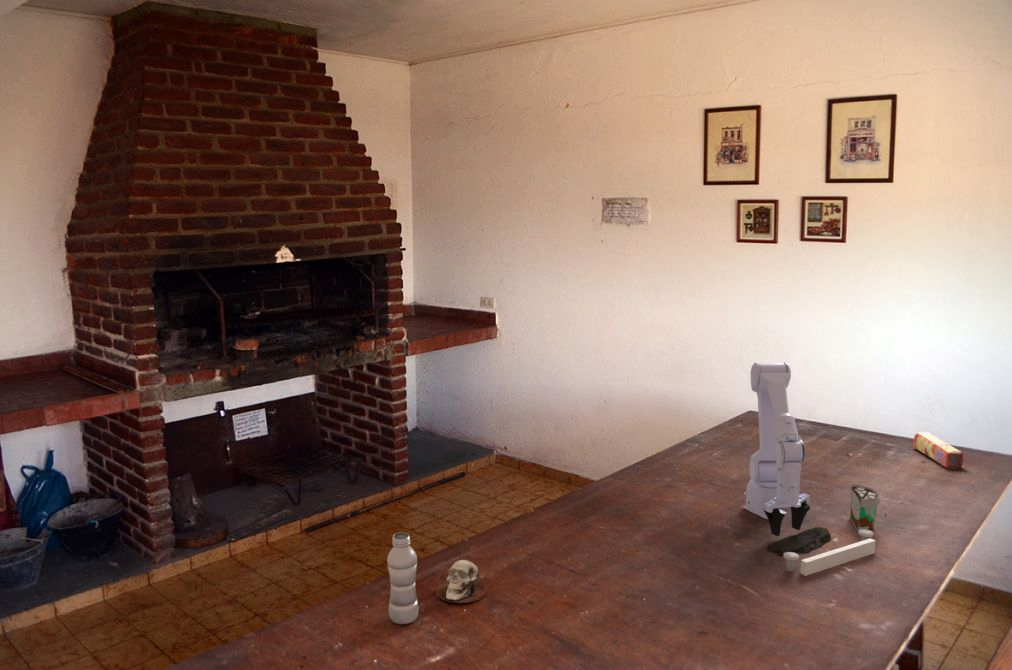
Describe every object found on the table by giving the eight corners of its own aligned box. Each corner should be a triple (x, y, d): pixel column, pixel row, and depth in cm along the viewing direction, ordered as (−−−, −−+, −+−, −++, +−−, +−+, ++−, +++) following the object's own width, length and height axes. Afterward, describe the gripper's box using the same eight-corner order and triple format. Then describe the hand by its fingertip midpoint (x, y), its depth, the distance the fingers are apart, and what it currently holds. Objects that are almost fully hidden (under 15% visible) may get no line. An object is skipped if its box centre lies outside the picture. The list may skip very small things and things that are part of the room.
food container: (883, 536, 213) (886, 501, 211) (858, 534, 214) (861, 500, 212) (871, 517, 224) (874, 484, 223) (848, 516, 226) (851, 483, 224)
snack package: (964, 469, 261) (966, 450, 260) (944, 470, 261) (946, 450, 260) (929, 448, 282) (931, 430, 281) (911, 449, 282) (913, 430, 281)
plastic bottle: (389, 613, 178) (386, 530, 174) (419, 611, 178) (416, 529, 174) (388, 629, 171) (384, 543, 167) (419, 627, 172) (416, 541, 168)
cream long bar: (779, 569, 195) (780, 554, 195) (863, 542, 209) (864, 528, 208) (797, 578, 191) (797, 563, 190) (881, 550, 204) (883, 536, 204)
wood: (786, 562, 200) (786, 551, 199) (763, 550, 206) (764, 540, 205) (843, 542, 211) (844, 531, 210) (820, 532, 217) (821, 521, 216)
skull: (473, 607, 178) (446, 570, 179) (446, 626, 183) (420, 590, 185) (499, 582, 188) (473, 547, 190) (473, 601, 193) (448, 566, 195)
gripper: (779, 494, 204) (777, 543, 206) (819, 484, 210) (816, 531, 213) (759, 485, 210) (757, 533, 212) (798, 475, 216) (796, 522, 219)
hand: (785, 531), depth 213 cm, fingers open, 7 cm apart
